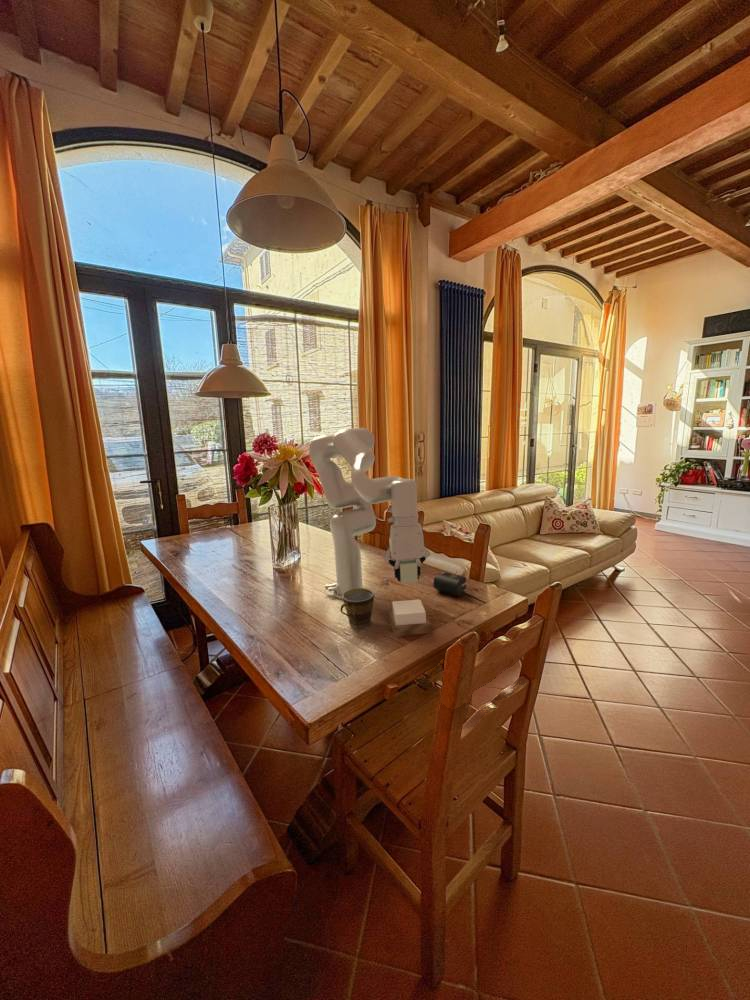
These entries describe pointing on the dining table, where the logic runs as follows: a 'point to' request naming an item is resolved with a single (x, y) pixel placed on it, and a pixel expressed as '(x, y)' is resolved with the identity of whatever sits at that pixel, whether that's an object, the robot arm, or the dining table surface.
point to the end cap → (450, 584)
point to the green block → (408, 571)
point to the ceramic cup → (358, 607)
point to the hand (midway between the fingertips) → (407, 578)
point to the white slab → (408, 612)
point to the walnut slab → (409, 627)
